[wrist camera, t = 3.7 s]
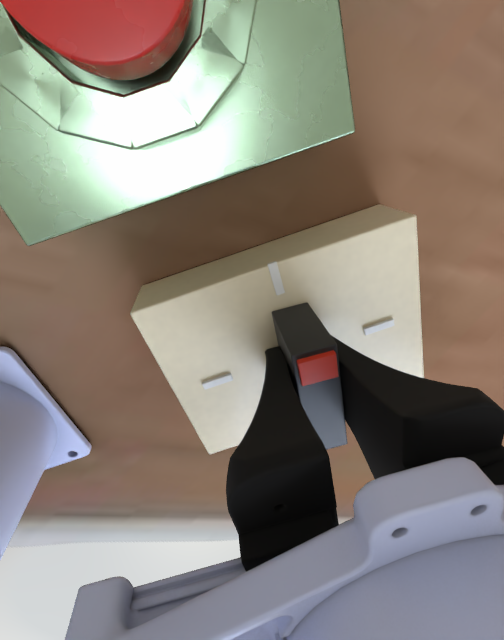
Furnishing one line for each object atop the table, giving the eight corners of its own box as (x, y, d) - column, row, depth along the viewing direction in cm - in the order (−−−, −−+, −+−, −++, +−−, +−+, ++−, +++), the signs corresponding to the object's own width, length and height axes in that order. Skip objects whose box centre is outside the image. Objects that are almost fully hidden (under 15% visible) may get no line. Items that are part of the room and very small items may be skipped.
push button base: (59, 228, 14) (-6, 265, 9) (-147, -117, 9) (-474, -368, 5) (326, 135, 14) (386, 128, 9) (260, -268, 9) (320, -677, 4)
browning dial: (320, 389, 16) (350, 449, 13) (289, 398, 16) (311, 459, 13) (307, 301, 14) (340, 347, 11) (270, 310, 14) (292, 360, 10)
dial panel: (208, 416, 20) (209, 459, 17) (139, 283, 15) (126, 313, 13) (394, 353, 20) (426, 386, 17) (379, 201, 15) (419, 212, 12)
